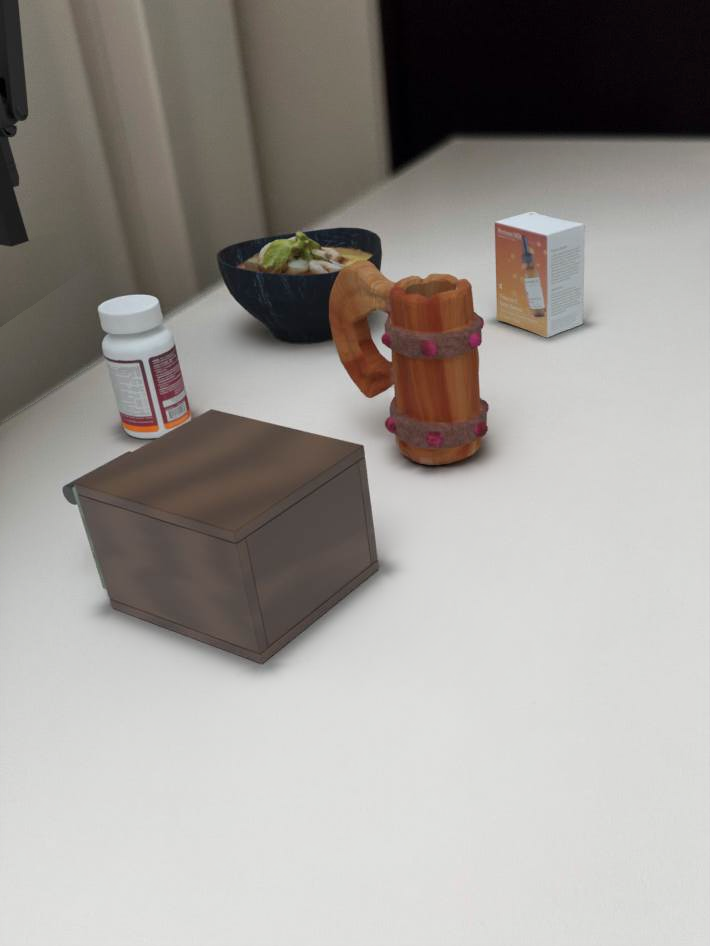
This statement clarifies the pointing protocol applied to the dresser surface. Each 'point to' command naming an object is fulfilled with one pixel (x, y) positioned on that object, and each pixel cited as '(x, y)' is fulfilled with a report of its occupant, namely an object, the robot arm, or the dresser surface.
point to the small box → (540, 273)
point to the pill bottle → (143, 366)
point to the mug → (415, 357)
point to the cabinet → (232, 530)
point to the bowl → (294, 277)
